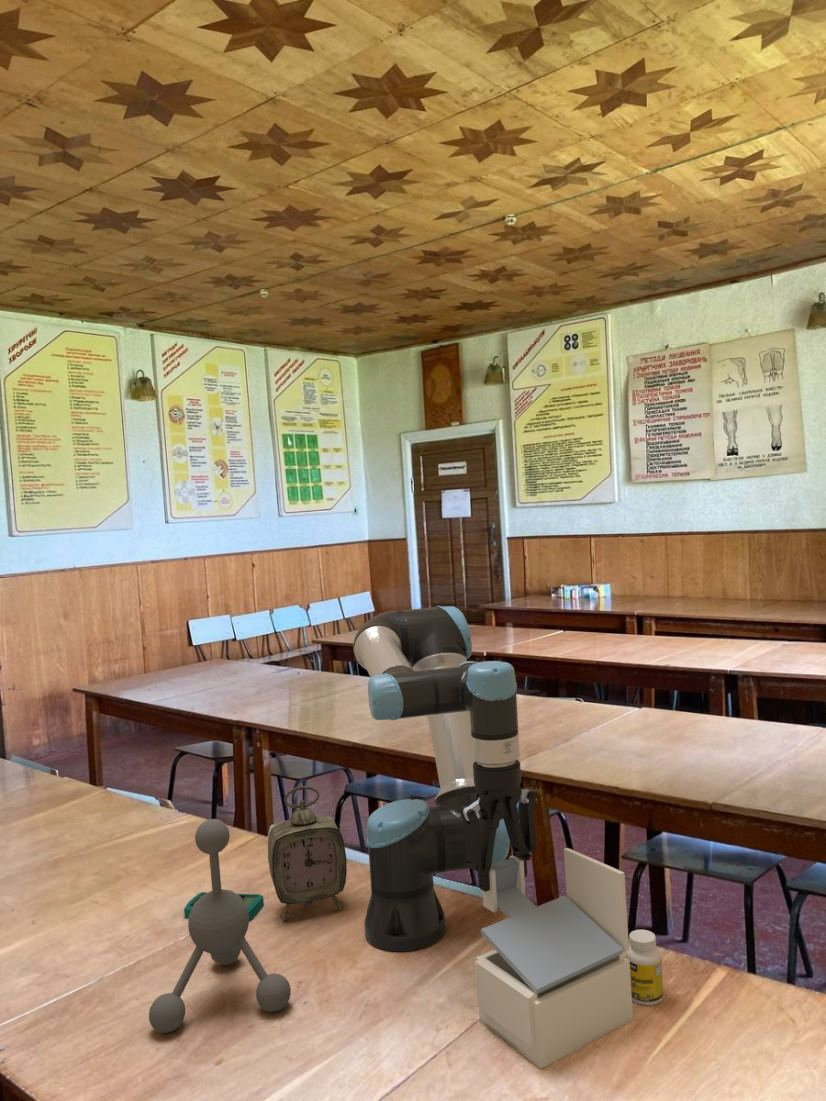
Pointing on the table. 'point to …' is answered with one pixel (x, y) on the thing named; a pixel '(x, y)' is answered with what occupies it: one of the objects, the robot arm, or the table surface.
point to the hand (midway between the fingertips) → (504, 902)
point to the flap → (544, 935)
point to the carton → (577, 1003)
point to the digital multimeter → (251, 900)
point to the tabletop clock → (306, 857)
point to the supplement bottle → (645, 968)
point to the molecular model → (217, 938)
